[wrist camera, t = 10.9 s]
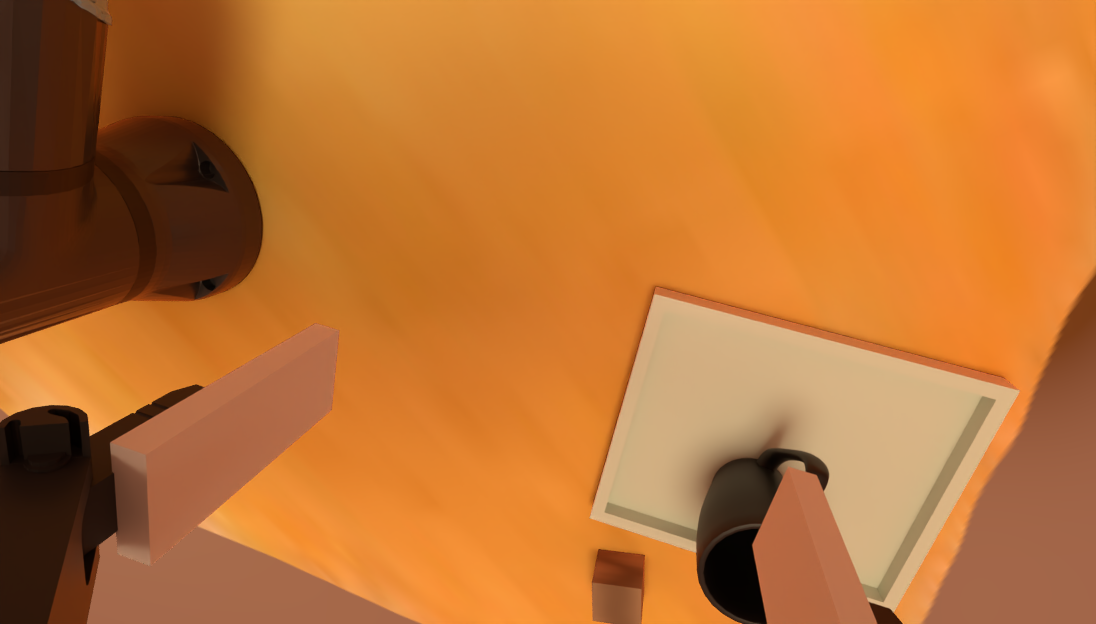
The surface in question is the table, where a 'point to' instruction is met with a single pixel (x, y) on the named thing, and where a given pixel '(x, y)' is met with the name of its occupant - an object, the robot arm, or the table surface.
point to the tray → (796, 430)
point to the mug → (741, 529)
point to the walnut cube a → (618, 587)
